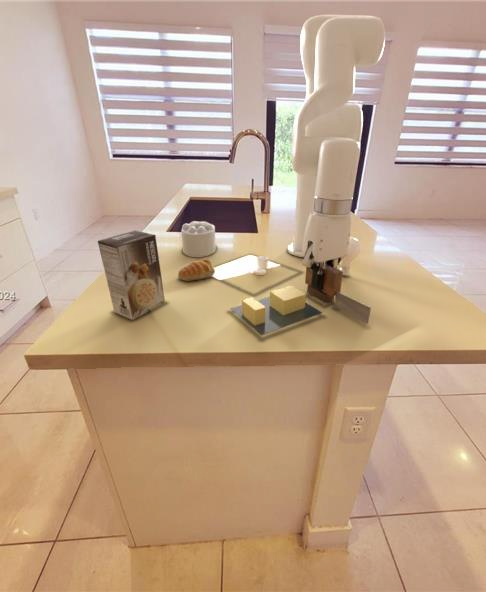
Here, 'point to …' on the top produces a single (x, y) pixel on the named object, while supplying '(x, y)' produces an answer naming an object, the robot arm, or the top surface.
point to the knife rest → (319, 294)
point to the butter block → (287, 300)
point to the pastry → (197, 270)
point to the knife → (333, 289)
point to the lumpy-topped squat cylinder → (198, 239)
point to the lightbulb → (350, 255)
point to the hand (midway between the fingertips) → (321, 286)
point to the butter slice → (253, 311)
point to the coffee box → (132, 272)
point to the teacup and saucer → (261, 266)
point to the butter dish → (277, 317)
